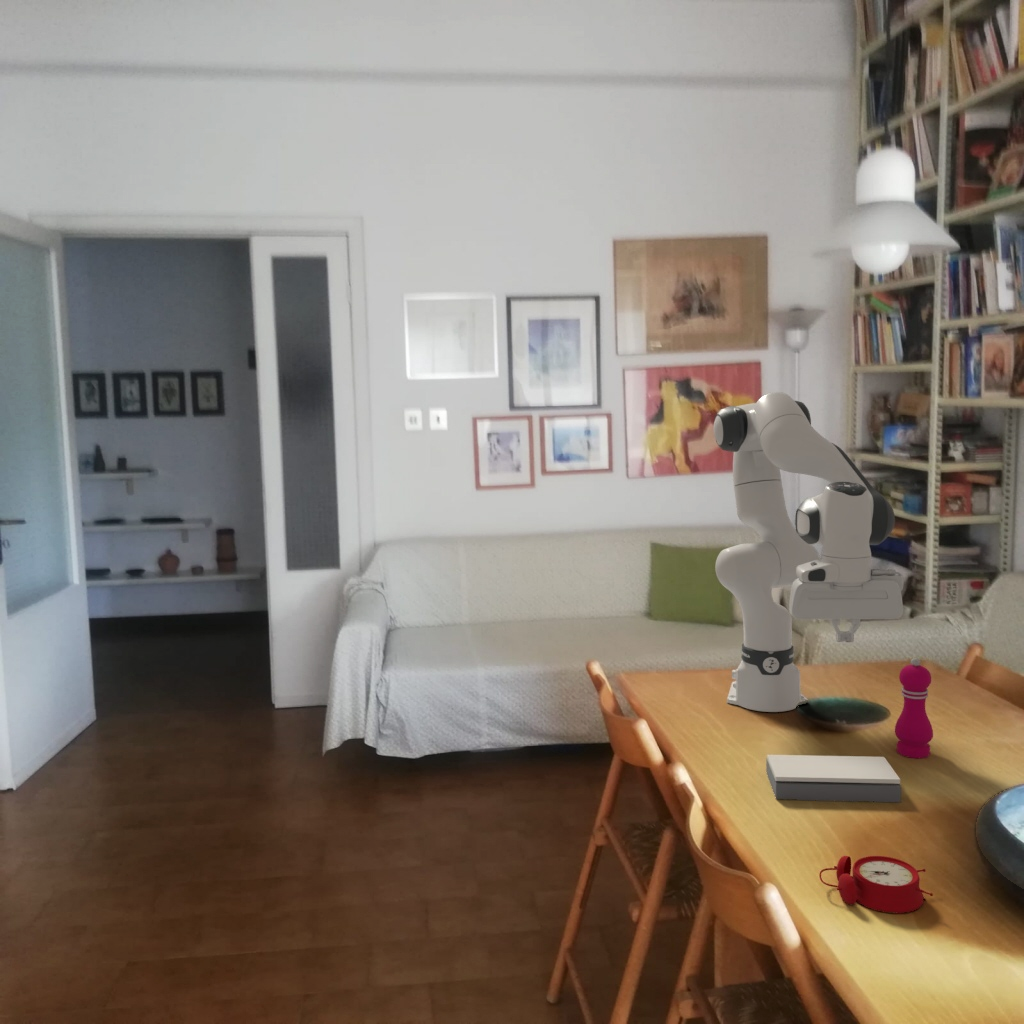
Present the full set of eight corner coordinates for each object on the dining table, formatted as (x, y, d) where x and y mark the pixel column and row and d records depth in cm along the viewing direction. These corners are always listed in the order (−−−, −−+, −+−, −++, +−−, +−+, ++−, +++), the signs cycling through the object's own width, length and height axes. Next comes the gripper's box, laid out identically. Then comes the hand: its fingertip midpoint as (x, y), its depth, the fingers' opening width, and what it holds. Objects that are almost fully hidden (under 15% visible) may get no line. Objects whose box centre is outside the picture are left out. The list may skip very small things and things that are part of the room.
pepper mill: (936, 760, 191) (939, 663, 188) (898, 758, 192) (900, 662, 189) (928, 747, 198) (930, 653, 195) (891, 745, 199) (893, 652, 196)
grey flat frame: (766, 772, 187) (766, 757, 187) (882, 774, 184) (883, 760, 184) (775, 799, 175) (776, 784, 174) (900, 802, 172) (901, 786, 172)
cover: (766, 758, 186) (766, 754, 186) (883, 760, 183) (883, 756, 183) (775, 781, 175) (775, 776, 175) (900, 783, 172) (900, 779, 172)
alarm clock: (938, 896, 134) (829, 863, 138) (926, 935, 136) (819, 901, 139) (926, 860, 144) (825, 830, 148) (915, 897, 145) (815, 866, 149)
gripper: (899, 566, 180) (897, 637, 181) (787, 566, 182) (787, 637, 184) (908, 572, 173) (906, 646, 175) (793, 573, 176) (792, 645, 178)
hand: (844, 641), depth 180 cm, fingers closed
